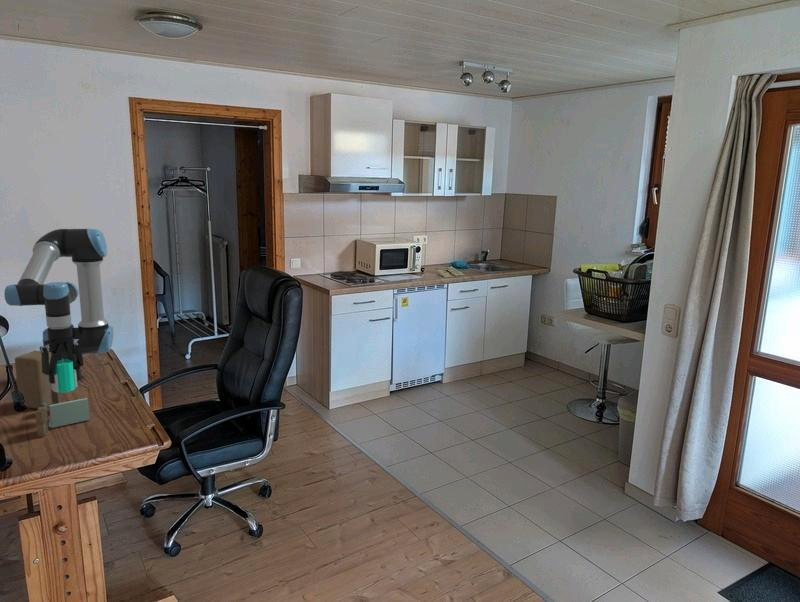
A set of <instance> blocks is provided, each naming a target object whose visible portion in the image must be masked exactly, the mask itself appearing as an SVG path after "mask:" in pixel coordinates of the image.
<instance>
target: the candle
mask: <svg viewBox="0 0 800 602" xmlns="http://www.w3.org/2000/svg"><path fill="white" fill-rule="evenodd" d="M55 374H57V377H58V388H59V393H61V394H63V393H64V394H65V393H70V392H72V391H74V390H75V389H76V387H75V384H74V372H73V361H71V360H69V359H64V360H63V358H62V360H58V361H57V366H56V370H55Z"/></svg>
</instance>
